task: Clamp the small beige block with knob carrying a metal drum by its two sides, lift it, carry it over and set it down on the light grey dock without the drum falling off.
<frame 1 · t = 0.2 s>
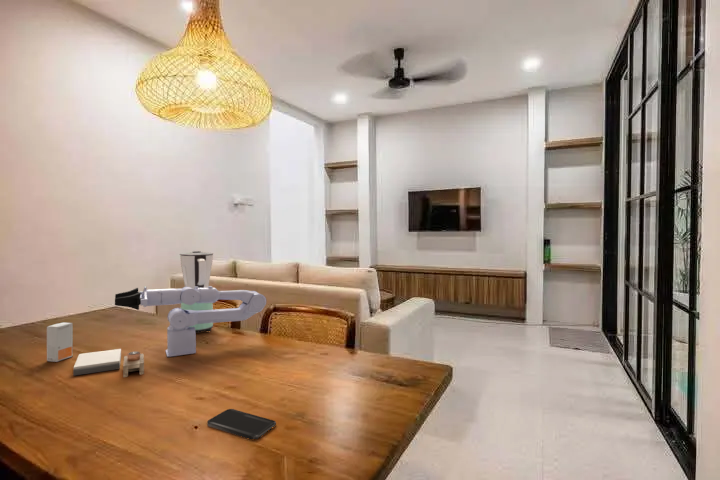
hand: (114, 299, 131), 21 cm above the table, tool horizontal, fingers open, 7 cm apart
dock: (99, 364, 129), on the table
drum: (133, 359, 124), point 3 cm above the table, touching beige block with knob
skincare box: (60, 359, 134), on the table
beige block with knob: (133, 370, 124), on the table, touching drum
juicer: (197, 332, 170), on the table
phone: (241, 427, 91), on the table
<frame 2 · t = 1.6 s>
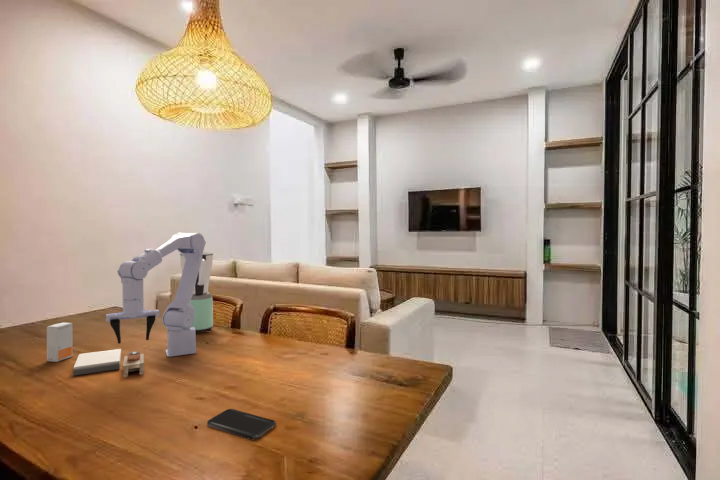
hand: (133, 341, 124), 9 cm above the table, tool pointing down, fingers open, 7 cm apart
nothing on the table moved.
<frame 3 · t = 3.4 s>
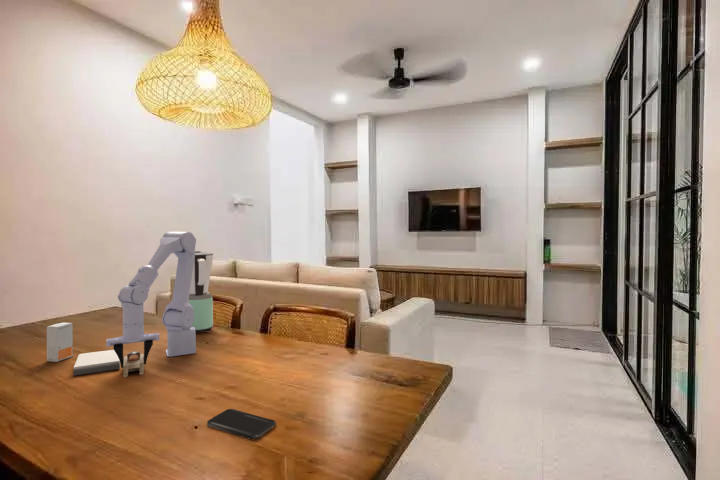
hand: (133, 365, 124), 2 cm above the table, tool pointing down, fingers closed on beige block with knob, 5 cm apart
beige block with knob: (133, 370, 124), on the table, touching drum, gripper
everything else where it was.
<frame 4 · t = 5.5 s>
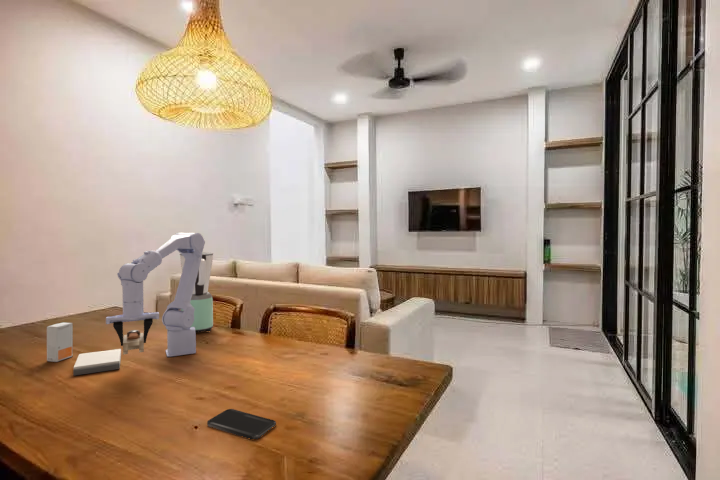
hand: (133, 343, 124), 9 cm above the table, tool pointing down, fingers closed on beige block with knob, 5 cm apart
drum: (133, 337, 124), point 10 cm above the table, touching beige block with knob
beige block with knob: (133, 348, 124), point 7 cm above the table, touching drum, gripper
everything else where it was.
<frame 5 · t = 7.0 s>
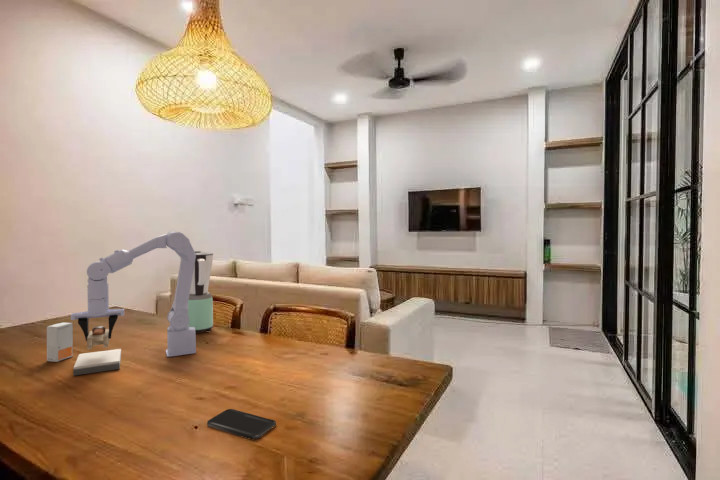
hand: (98, 339, 128), 9 cm above the table, tool pointing down, fingers closed on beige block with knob, 5 cm apart
drum: (98, 333, 128), point 10 cm above the table, touching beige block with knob
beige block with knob: (98, 344, 128), point 7 cm above the table, touching drum, gripper
everything else where it was.
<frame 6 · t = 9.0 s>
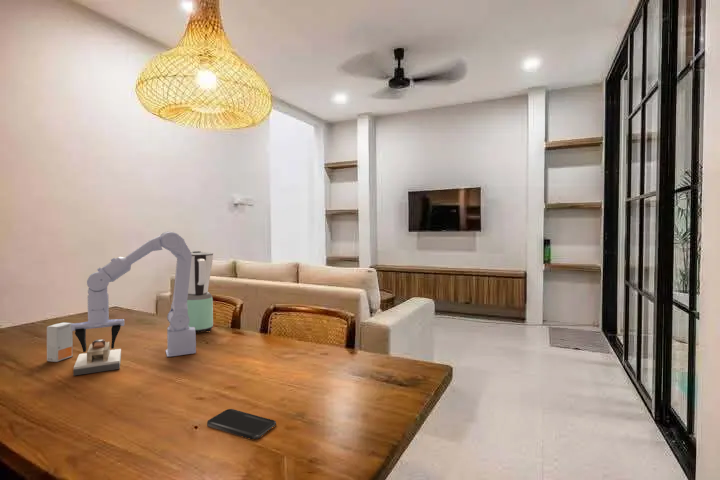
hand: (98, 349, 128), 5 cm above the table, tool pointing down, fingers open, 7 cm apart
drum: (98, 346, 128), point 6 cm above the table, touching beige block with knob
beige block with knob: (98, 357, 128), point 2 cm above the table, touching dock, drum
everything else where it was.
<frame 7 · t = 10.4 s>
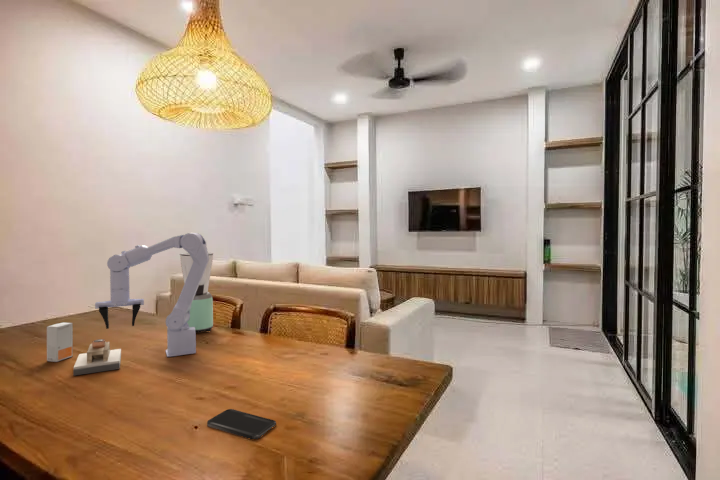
hand: (120, 326, 137), 10 cm above the table, tool pointing down, fingers open, 7 cm apart
nothing on the table moved.
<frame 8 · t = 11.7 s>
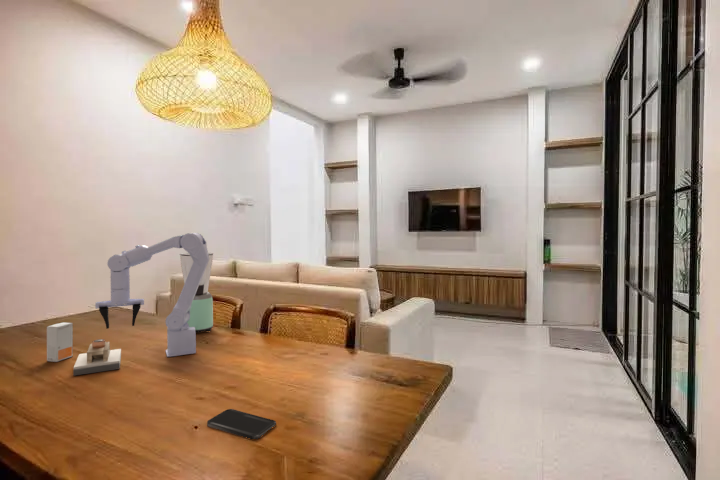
hand: (120, 326, 137), 10 cm above the table, tool pointing down, fingers open, 7 cm apart
nothing on the table moved.
at the end: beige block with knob inside the target area on the dock (0.0 cm from its centre), point 2.5 cm above the dock's base; drum 0.1 cm off-centre on the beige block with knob, point 3.5 cm above the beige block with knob's base; the gripper is holding nothing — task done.
